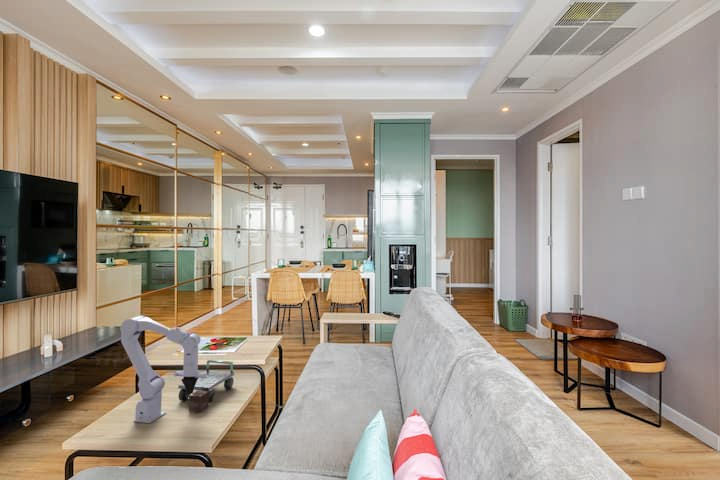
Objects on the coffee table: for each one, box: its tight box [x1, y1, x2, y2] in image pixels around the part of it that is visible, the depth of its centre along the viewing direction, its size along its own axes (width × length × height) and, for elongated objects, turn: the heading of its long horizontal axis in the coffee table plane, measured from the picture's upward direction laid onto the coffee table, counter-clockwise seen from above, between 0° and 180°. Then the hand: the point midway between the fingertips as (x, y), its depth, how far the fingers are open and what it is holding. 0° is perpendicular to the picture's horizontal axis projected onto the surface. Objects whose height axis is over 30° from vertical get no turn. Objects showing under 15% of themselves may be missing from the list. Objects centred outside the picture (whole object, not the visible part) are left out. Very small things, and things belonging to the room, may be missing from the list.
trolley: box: [177, 359, 235, 404], centre depth 173 cm, size 23×16×14 cm
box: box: [188, 390, 210, 414], centre depth 156 cm, size 6×6×7 cm
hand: (189, 393), depth 150 cm, fingers closed
